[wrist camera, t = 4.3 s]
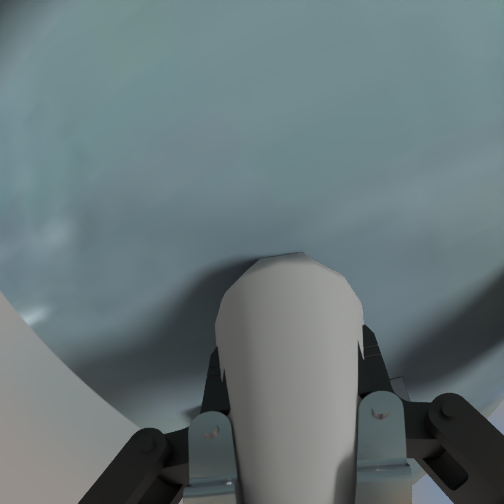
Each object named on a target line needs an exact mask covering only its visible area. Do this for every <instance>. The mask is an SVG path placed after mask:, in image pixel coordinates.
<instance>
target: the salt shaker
mask: <svg viewBox="0 0 504 504" xmlns="http://www.w3.org/2000/svg"><path fill="white" fill-rule="evenodd" d="M362 325H364V320H363V311H362V304H361V302H360V301H359V299H358V297H357V296H356V294H355V293H354V291H353V290H352V288H351V287H350V285H349V284H348V282H347V281H346V279H345V278H344V276H343V275H342V274H340V273H338V272H336V271H334V270H332V269H330V268H328V267H326V266H324V265H322V264H320V263H318V262H316V261H314V260H313V259H312V258H310V257H309V256H307V255H306V254H305V253H303V252H300V253H294V254H287V255H281V256H274V257H268V258H261V259H259V260H258V261H257V262H256V263H255V264H254V265H252V266H251V267H250V268H249V269H248V270H247V271H246V272H245V273H244V274H243V275H242V276H241V277H240V278H239V279H238V280H237V281H236V282H235V283H234V284H233V285H232V286H231V287H230V288H229V289H228V290H227V291H226V292H225V294H224V296H223V298H222V301H221V304H220V308H219V311H218V315H217V318H216V322H215V336H216V347H217V346H218V354H219V362H220V367H219V368H220V370H221V376H220V377H221V378H222V380H223V373H224V369H225V375H226V382H227V388H228V395H229V401H230V407H231V410H230V412H229V414H228V416H227V418H228V419H229V421H230V423H231V425H232V428H233V434H234V441H235V448H236V455H237V462H238V468H239V475H240V481H241V487H242V494H243V500H244V504H353V498H354V487H355V475H356V460H357V439H358V411H359V406H360V403H361V401H362V399H361V397H360V396H359V395H358V342H359V346H360V349H361V353H362V356H363V349H364V348H363V332H362ZM364 359H365V358H364V357H363V360H364Z"/></svg>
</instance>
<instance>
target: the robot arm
mask: <svg viewBox="0 0 504 504" xmlns="http://www.w3.org/2000/svg"><path fill="white" fill-rule="evenodd" d="M362 332H363V348H364V349H363V356H362V353H361V349H360V346H359V342H358V395H359V396H360V397H361V399H362V401H361V403H360V406H359V411H358V439H357V460H356V475H355V487H354V498H353V504H412V474H411V468H410V465H409V464H408V463H407V458H414V459H415V460H416V461H417V462H418V464H419V465H420V466H421V467H422V468H423V469H424V470H425V471H426V473H427V474H428V475H429V476H430V477H431V478H432V479H433V481H434V482H435V483H436V484H437V485H438V486H439V487H440V488H441V489H442V491H443V492H444V493H445V494H446V495H447V496H448V497H449V499H450V500H451V501H452V502H453V503H454V504H504V435H503V434H501V432H500V431H498V430H497V429H496V428H495V427H494V426H493V425H492V424H491V423H490V422H489V421H488V420H487V419H486V418H485V417H484V416H482V415H481V414H480V413H479V412H478V411H477V410H476V409H475V408H474V407H473V406H472V405H471V404H469V403H468V402H467V401H466V400H465V399H464V398H463V397H462V396H460V395H458V394H455V393H444V394H441V395H439V396H437V397H436V398H435V399H434V400H433V401H432V402H431V403H428V402H410V401H406V400H404V399H402V398H400V397H399V396H398V395H397V394H396V393H395V392H394V390H393V388H392V386H391V382H390V379H389V376H388V373H387V370H386V367H385V364H384V361H383V358H382V355H381V352H380V349H379V346H378V343H377V340H376V337H375V335H374V333H373V332H372V331H371V330H370V329H369V328H368V327H367V326H366V325H362ZM363 357H364V358H365V359H364V360H363ZM219 367H220V362H219V354H218V346H217V347H216V349H215V350H214V352H213V353H212V354H211V357H210V362H209V369H208V373H207V379H206V385H205V390H204V396H203V402H202V408H201V412H200V415H198V416H197V417H195V418H194V419H193V421H192V422H191V424H190V426H189V427H187V428H185V429H182V430H178V431H175V432H171V433H167V434H163V433H162V432H161V431H159V430H158V429H155V428H144V429H141V430H139V431H137V432H136V433H135V434H134V435H133V436H132V437H131V438H130V440H129V441H128V442H127V443H126V445H125V446H124V447H123V448H122V450H121V451H120V452H119V453H118V455H117V456H116V457H115V458H114V460H113V461H112V462H111V463H110V465H109V466H108V467H107V468H106V470H105V471H104V472H103V473H102V475H101V476H100V477H99V478H98V480H97V481H96V482H95V483H94V484H93V486H92V487H91V488H90V489H89V491H88V492H87V493H86V494H85V495H84V497H83V498H82V499H81V500H80V501H79V503H78V504H178V503H179V502H180V500H181V499H182V498H183V504H244V500H243V494H242V487H241V481H240V475H239V468H238V462H237V455H236V448H235V441H234V434H233V428H232V425H231V423H230V421H229V419H228V418H227V416H228V414H229V412H230V410H231V407H230V401H229V395H228V388H227V382H226V375H225V369H224V373H223V380H222V378H221V377H220V376H221V370H220V368H219Z"/></svg>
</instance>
